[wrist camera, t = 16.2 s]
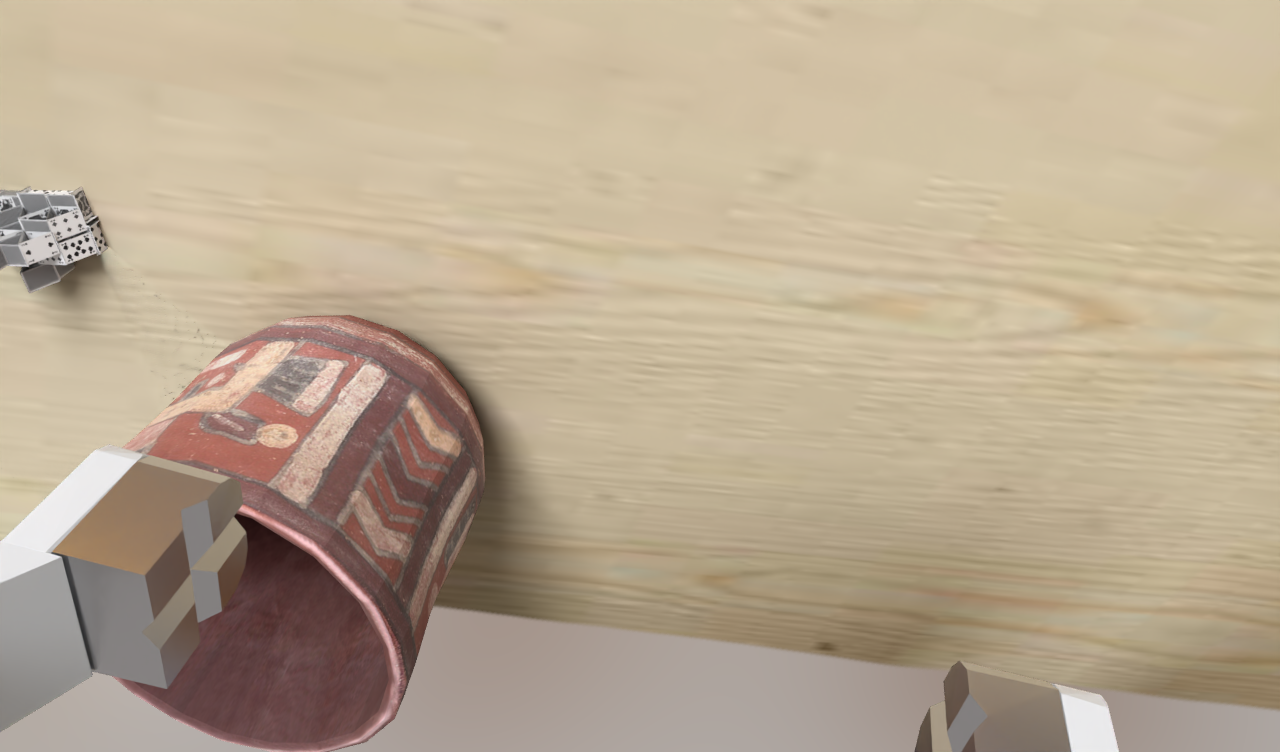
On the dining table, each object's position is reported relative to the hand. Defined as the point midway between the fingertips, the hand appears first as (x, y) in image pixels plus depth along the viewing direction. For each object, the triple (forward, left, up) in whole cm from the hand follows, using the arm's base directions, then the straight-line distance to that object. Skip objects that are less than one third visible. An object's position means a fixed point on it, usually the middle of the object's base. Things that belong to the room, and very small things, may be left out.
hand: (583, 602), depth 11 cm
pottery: (+18, +30, -37) cm, 51 cm away
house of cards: (+38, +25, -38) cm, 59 cm away
